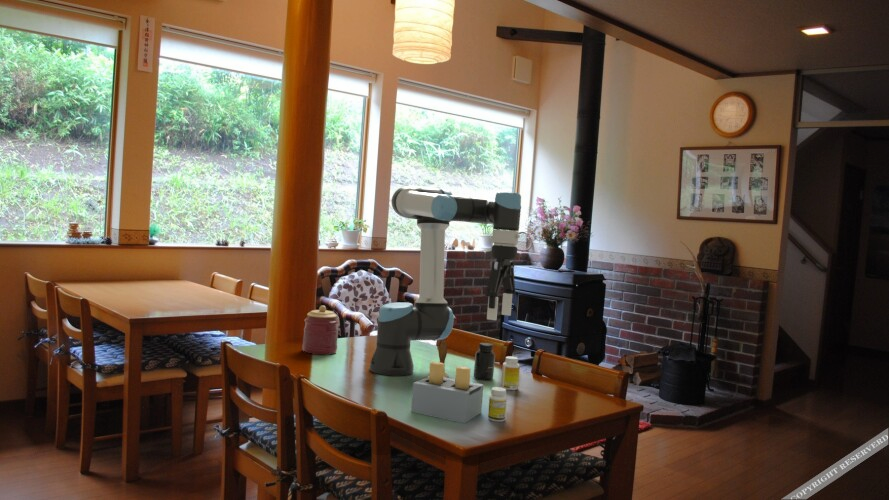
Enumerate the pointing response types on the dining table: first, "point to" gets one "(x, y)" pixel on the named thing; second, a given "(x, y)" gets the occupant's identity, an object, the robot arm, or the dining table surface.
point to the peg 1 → (436, 372)
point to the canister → (320, 332)
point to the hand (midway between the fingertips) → (499, 317)
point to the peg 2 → (462, 377)
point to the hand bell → (443, 355)
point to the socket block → (447, 400)
